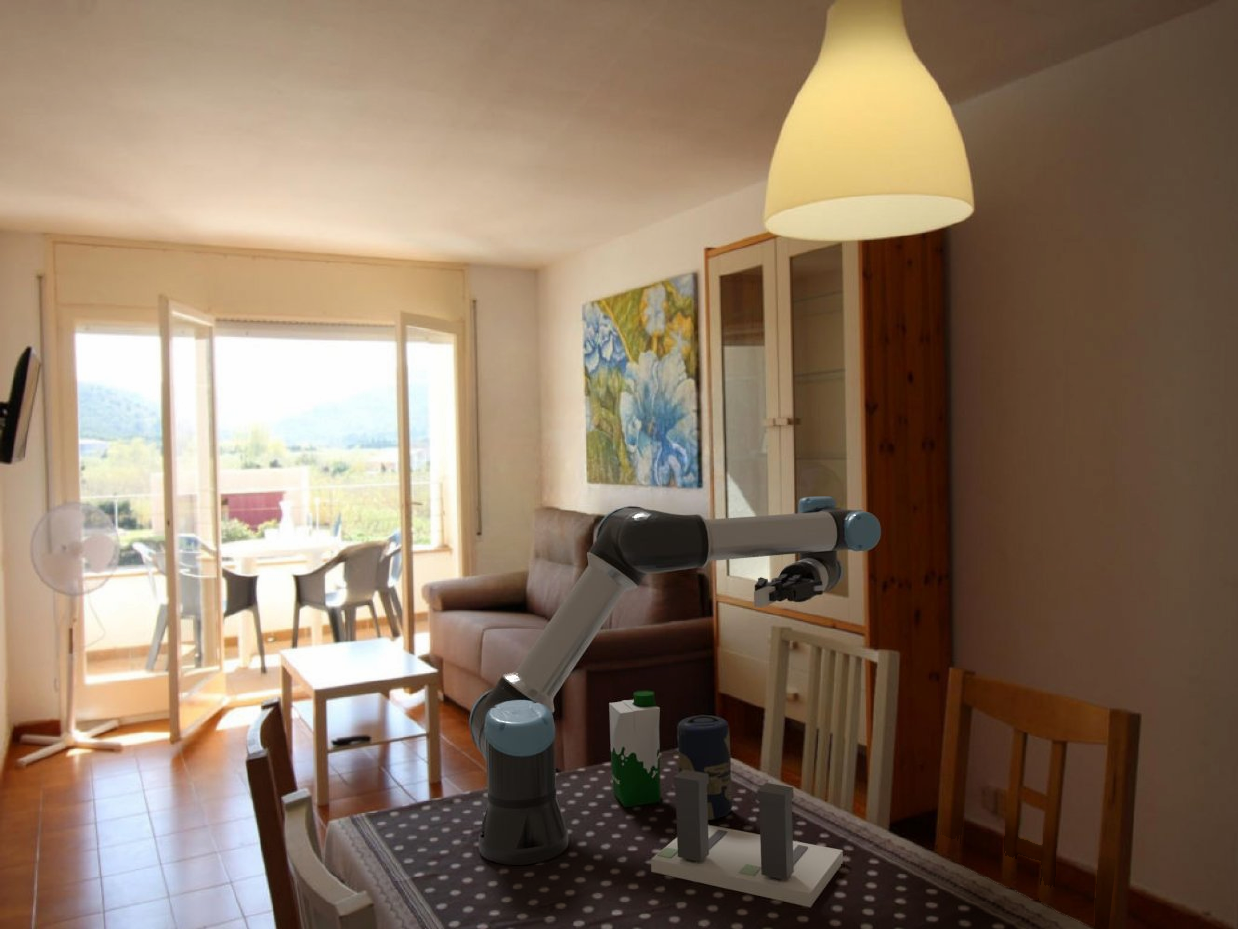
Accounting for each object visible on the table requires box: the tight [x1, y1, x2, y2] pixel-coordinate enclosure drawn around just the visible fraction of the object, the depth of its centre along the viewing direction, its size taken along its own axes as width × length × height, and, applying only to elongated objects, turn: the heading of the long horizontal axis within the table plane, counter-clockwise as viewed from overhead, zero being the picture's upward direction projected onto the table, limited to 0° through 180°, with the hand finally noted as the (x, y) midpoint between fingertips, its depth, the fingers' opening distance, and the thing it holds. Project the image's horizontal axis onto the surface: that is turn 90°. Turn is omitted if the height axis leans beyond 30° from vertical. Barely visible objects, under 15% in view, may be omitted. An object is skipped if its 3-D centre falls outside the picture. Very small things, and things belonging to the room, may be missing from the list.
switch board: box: [650, 824, 844, 908], centre depth 150 cm, size 26×16×2 cm, turn 60°
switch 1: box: [672, 770, 709, 862], centre depth 149 cm, size 4×4×13 cm
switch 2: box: [756, 782, 794, 880], centre depth 142 cm, size 4×4×13 cm
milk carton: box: [608, 690, 662, 808], centre depth 180 cm, size 9×9×20 cm
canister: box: [676, 714, 733, 821], centre depth 172 cm, size 10×10×18 cm
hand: (758, 599), depth 164 cm, fingers closed
